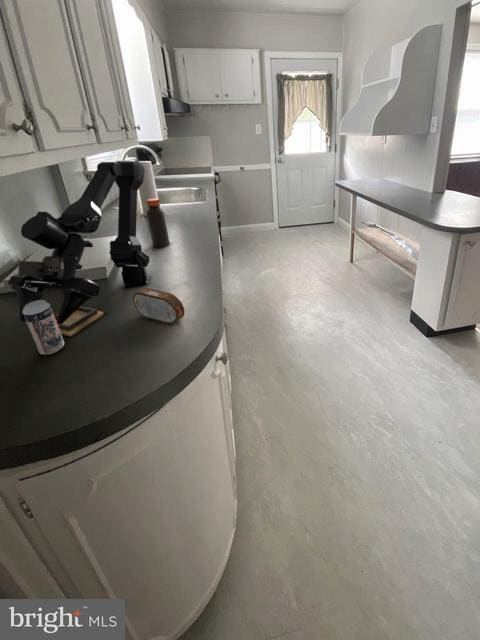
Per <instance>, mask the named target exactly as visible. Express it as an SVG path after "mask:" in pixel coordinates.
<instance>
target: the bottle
mask: <svg viewBox="0 0 480 640" xmlns="http://www.w3.org/2000/svg"><path fill="white" fill-rule="evenodd" d="M146 206H147V207H148V209H147V211H146V217H147V223H148V227H149V232H150V237H151V242H152V246H153V247H154V248H165V247H168V246H169V245H170V238H169V237H170V236H169V232H168V226H167V222H166V216H165V211H164V209H163V208H161V201H160V198H157V197H155V198H153V197H152V198H148V199H146Z"/></svg>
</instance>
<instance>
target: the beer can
mask: <svg viewBox="0 0 480 640" xmlns="http://www.w3.org/2000/svg"><path fill="white" fill-rule="evenodd" d="M23 315H24V317H25V320H26V321H25V322H26V325H27V327H28V329H29V332H30V334H31V336H32V338H33V341H34V343H35V346H36V348H37V350H38V353H39V354H40V355H45V356H46V355H52V354H55V353H57V352H58V351H60V350H61V349H62V348H63V347H64V346H65V340H64V338H63V335H62V334H61V332H60V329H59V327H58V324H57V321H56V319H55V314H54V311H53V308H52V306H51V303H49V302H47V300H45V299H40V300H37V301H34V302H31V303H29V304H27V305H25V306H24V309H23Z"/></svg>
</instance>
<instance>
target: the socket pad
mask: <svg viewBox="0 0 480 640" xmlns="http://www.w3.org/2000/svg"><path fill="white" fill-rule="evenodd" d="M58 315H59V313H57V314H56V315H55V314H54V316H55V319H56V321H57V319H58ZM104 315H105V314H104V311H100V310H97V308H91V307H86V306H82V305H81V306H80V307H79V308H78V309H77V310H76V311H75V312H74V313H73V314H72V315H71V316H70V317H69V318H68V319H67V320H66V321H65V322H64V323H63V324H58V327H59V329H60V332H61V335H62V336H67V337H72V336H73V335H75V334H76V333H78V332H79V331H81V330H83V329H84V328H85V327H87V326H89V325H90V324H92V323H93V322H95V321H96V320H98V319H99V318H101V317H102V316H104Z"/></svg>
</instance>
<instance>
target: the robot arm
mask: <svg viewBox="0 0 480 640" xmlns="http://www.w3.org/2000/svg"><path fill="white" fill-rule="evenodd" d="M145 171H146V169H145V166H144V165H143V164H142V163H141V162H140V161H139V160H132V159H131V160H116V161H101V162H99V163H98V164H97V165H96V171H95V173H93V176H92V177H91V179H90V181H89V183H88V184H87V186H86V188H85V189H84V191H83V193H82V195H81V196H80V198H79V199H78V200H76V201H75V202H73V203H71V204H69V205H68V206H67V207H66V208H65V210H64V211H63V212H62V213H61V215H60V216H59V217H57V218H56V217H54V216H53V215H52V214H51V213H49V212H48V211H37V212H36V215H34V216H32V217H30V218H29V219H27V221H25V222H24V223H23V224H22V225H21V228H20V235H21V236H22V237H23V238H25V240H27V241H28V240H29V241H31V242H32V243H34V244H37V245H39V246H41V247H43V248H45V249H48V250H52V252H51V254H50V255H45V256H44V257H43V259H42V261H37V260H36V261H35V260H18V261H19V262H18V271H17V273H16V274H13V275H11V276H10V277H9V280H8V282H7V284H6V285H7V286H10V288H11V290H12V291H15V292H16V294H17V296H18V303H19V304H18V305H19V321H20V322H26V320H25V317H24V315H23V309H24V306H25V305H27V304H29V303H31V302H34V301H37V300H42V298H43V296H44V293H42V292H44V291H45V290H46V289H49V290H50V289H52V290H61V292H62V296H63V301H62V304H61V306H60V310H59V313H58V314H59V315H58V319H57V324H63V323H64V322H65V321H66V320H67V319H68V318H69V317H70V316H71V315H72V314H73V313H74V312H75V311H76V310H77V309H78V308H79V307H80V306H81V307H82V305H83V304H85V303H86V302H87V301H88V300H92V299H93V297H98V296H99V293H100V290H101V288H100V286H99V285H100V284H99V283H97V282H95V281H93V280H90V279H88V278H86V277H76V276H75V275H76V273H77V270H80V271H81V270H82V269H83V265H82V264H80V262H81V259H82V256H83V255H84V252H85V248H93V247H94V244H93V243H92V241H91V239H90V237H89V236H82V235H80V234H93V233H95V232H97V231H98V229H99V226H100V224H101V221H102V217H103V215H102V212H101V211H102V210H101V209H102V206H103V205H104V202H105V201H106V199H107V196H108V195H109V193H110V192H111V190H112V187H113V185H114V183H115V184H116V186H117V188H118V215H117V216H118V220H117V236H116V238H115V239H114V240H110V241H109V252H108V254H109V255H110V260H111V261H112V262H113V263H114V265H115V267H116V268H118V269H119V268H121V272H120V274H121V278H122V282H123V284H124V288H126V289H128V288H134V287H140V286H147V284H148V282H149V277H150V276H149V275H148V272H147V267H148V266H149V265H148V264H150V256H149V255H147V254H146V253H144V252H143V249H142V243H141V242H140V241H139V239H138V237H137V216H138V215H137V214H138V190H139V189H140V188H141V186H142V185H143V184H144V178H145Z"/></svg>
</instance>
